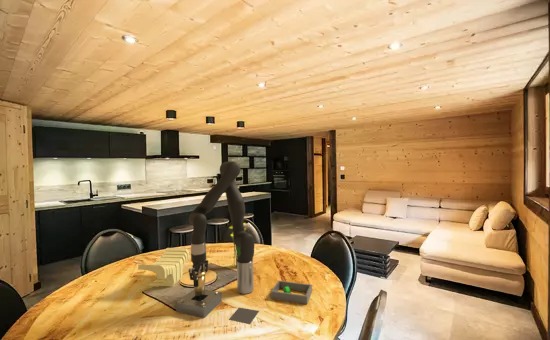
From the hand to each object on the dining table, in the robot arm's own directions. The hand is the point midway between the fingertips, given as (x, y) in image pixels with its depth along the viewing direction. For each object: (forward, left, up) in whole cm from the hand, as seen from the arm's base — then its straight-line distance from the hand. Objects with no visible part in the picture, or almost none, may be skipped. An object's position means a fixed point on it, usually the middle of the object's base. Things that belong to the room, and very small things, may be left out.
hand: (199, 284), depth 134 cm
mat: (0, +25, -12) cm, 28 cm away
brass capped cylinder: (0, 0, -5) cm, 5 cm away
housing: (0, 0, -12) cm, 12 cm away
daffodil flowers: (-54, -4, -12) cm, 56 cm away
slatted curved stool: (-17, -36, -13) cm, 42 cm away
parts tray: (-26, +42, -12) cm, 51 cm away
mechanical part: (-19, +40, -15) cm, 47 cm away
